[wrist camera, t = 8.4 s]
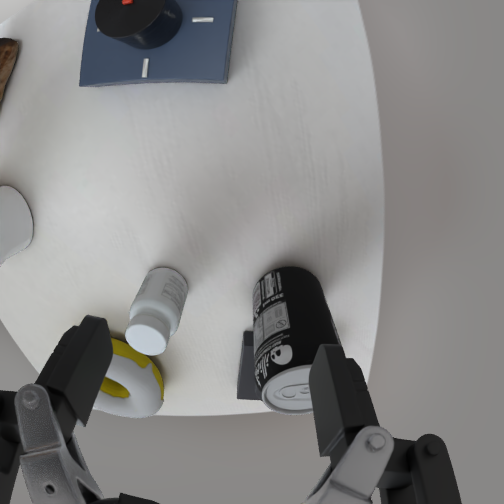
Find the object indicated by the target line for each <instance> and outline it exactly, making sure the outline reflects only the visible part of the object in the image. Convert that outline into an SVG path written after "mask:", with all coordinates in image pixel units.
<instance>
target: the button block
mask: <svg viewBox="0 0 504 504" xmlns="http://www.w3.org/2000/svg"><path fill="white" fill-rule="evenodd" d="M237 399H246V400H261V401H263V400H262V393H261V392H260V391H259V389H258V388H257V386H256V383H255V366H254V332H246V331H245V332H244V335H243V343H242V351H241V359H240V367H239V375H238V383H237Z"/></svg>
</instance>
